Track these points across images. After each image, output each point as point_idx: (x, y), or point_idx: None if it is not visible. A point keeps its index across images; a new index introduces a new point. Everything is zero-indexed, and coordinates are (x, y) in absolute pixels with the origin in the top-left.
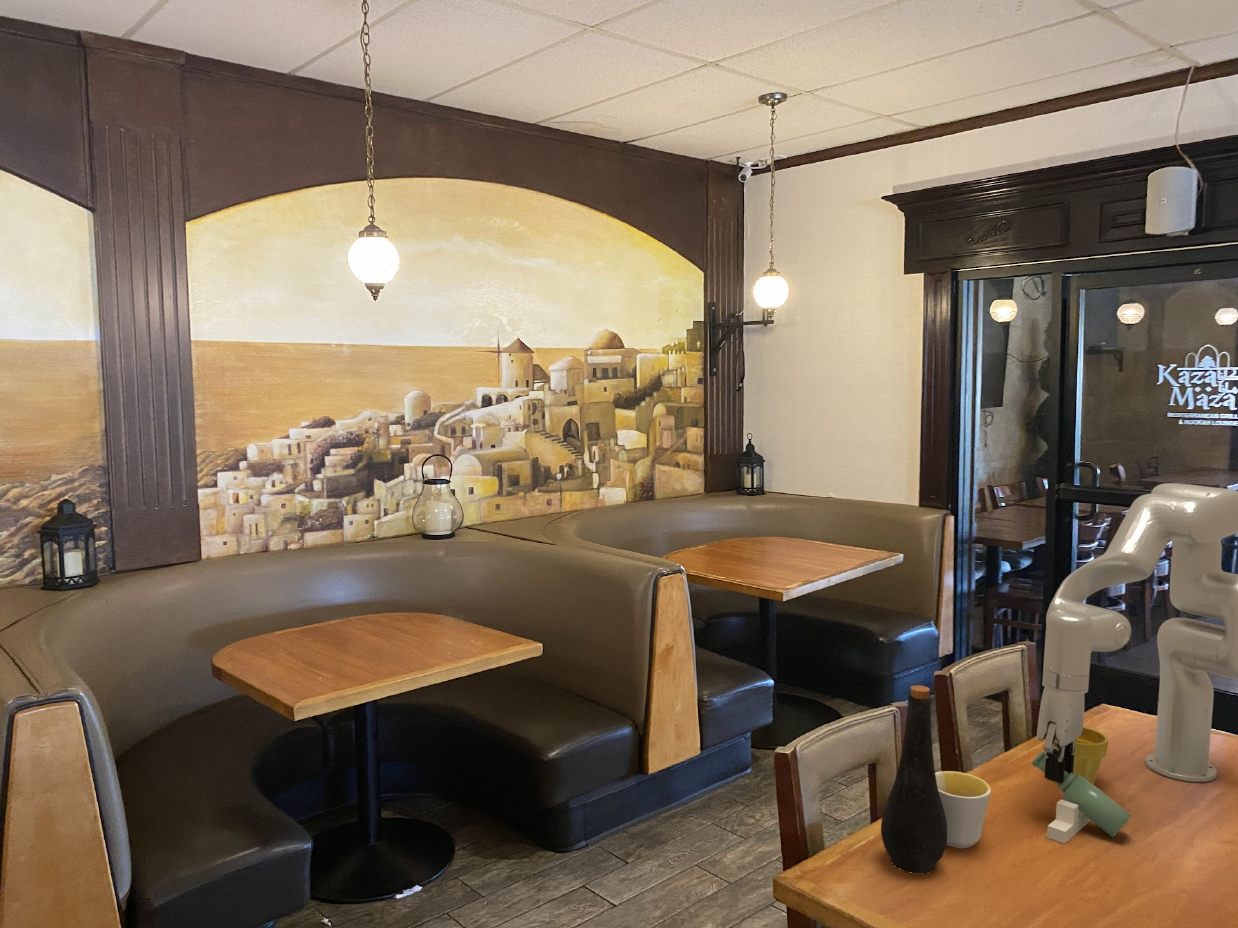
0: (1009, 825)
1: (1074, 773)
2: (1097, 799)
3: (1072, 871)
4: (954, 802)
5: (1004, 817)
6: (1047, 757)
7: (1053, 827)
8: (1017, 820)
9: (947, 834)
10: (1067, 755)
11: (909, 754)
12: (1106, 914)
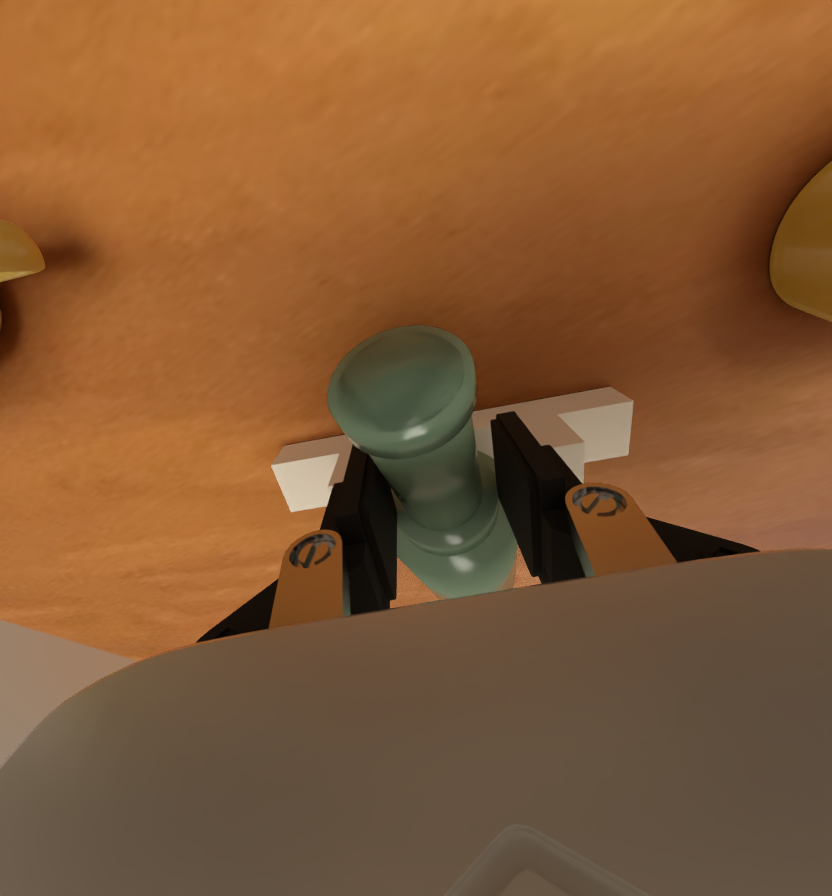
0: (228, 329)
1: (815, 274)
2: (432, 590)
3: (203, 562)
4: None
5: (259, 275)
6: (294, 560)
7: (278, 481)
8: (288, 321)
9: None
10: (531, 556)
11: None
12: (143, 654)
